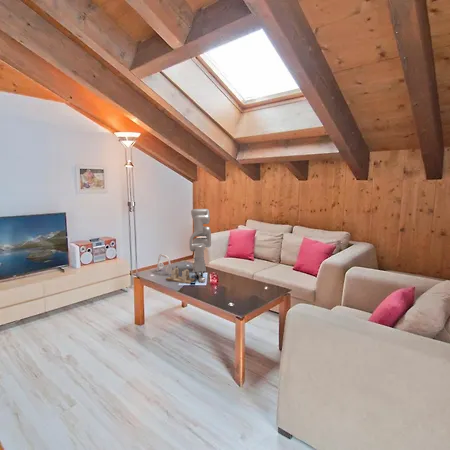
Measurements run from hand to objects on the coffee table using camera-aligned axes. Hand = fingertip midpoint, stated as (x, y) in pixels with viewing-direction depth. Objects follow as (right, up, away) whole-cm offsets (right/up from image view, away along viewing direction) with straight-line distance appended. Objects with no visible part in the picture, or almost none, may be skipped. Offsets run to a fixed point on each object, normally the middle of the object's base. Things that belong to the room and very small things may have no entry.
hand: (199, 278), depth 294 cm
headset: (-35, +2, +19) cm, 40 cm away
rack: (-17, -1, -3) cm, 17 cm away
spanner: (0, 0, 0) cm, 1 cm away
